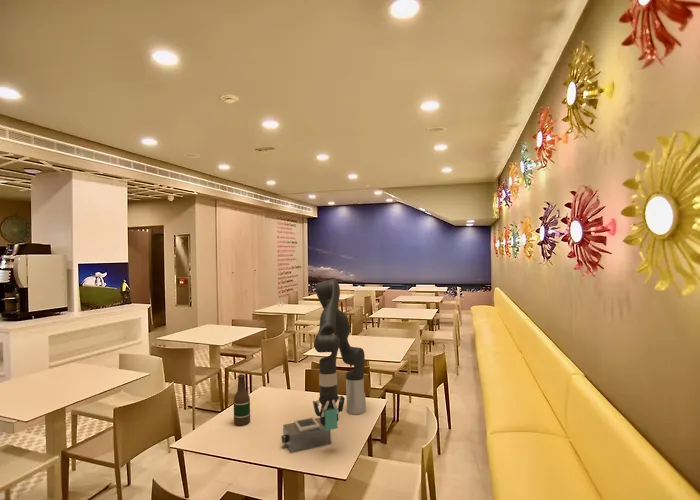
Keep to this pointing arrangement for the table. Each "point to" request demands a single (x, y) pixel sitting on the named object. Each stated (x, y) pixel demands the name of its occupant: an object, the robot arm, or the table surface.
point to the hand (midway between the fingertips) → (329, 423)
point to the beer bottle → (241, 403)
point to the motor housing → (305, 434)
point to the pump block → (330, 418)
